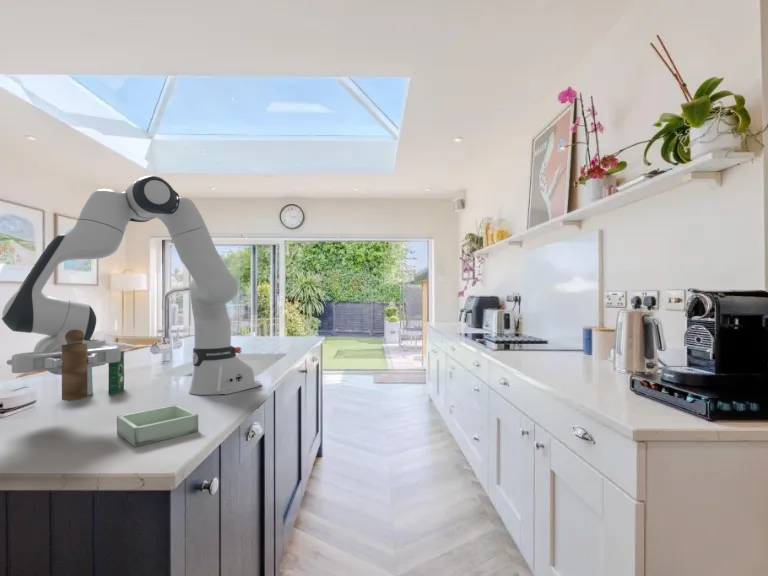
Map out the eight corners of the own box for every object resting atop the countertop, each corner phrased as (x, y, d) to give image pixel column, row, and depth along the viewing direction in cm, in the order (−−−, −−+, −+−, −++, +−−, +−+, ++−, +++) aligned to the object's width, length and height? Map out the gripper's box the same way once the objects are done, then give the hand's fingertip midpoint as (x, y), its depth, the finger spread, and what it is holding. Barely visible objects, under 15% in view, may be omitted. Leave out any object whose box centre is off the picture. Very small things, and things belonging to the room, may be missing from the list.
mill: (85, 394, 95) (84, 327, 95) (89, 397, 92) (89, 328, 92) (59, 398, 92) (59, 329, 92) (63, 401, 89) (63, 330, 89)
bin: (176, 419, 104) (176, 404, 104) (198, 431, 95) (198, 414, 95) (116, 432, 95) (116, 416, 95) (135, 446, 86) (135, 428, 86)
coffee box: (114, 389, 138) (114, 350, 138) (124, 388, 139) (124, 349, 139) (107, 395, 131) (107, 353, 131) (118, 394, 132) (118, 352, 132)
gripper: (5, 347, 93) (12, 353, 84) (111, 339, 108) (127, 343, 99) (5, 375, 93) (12, 384, 84) (111, 363, 108) (127, 369, 99)
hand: (75, 362), depth 91 cm, fingers closed on mill, 5 cm apart
